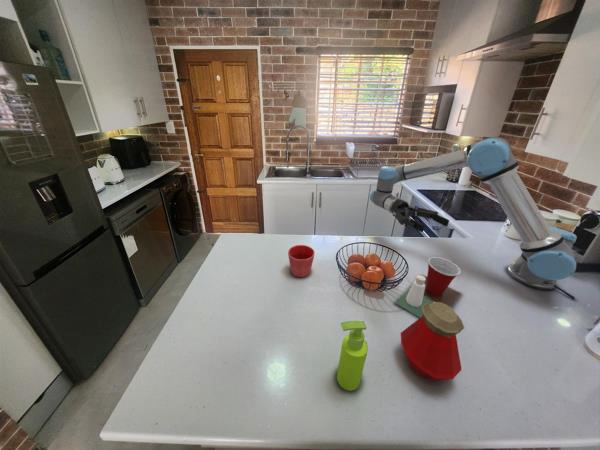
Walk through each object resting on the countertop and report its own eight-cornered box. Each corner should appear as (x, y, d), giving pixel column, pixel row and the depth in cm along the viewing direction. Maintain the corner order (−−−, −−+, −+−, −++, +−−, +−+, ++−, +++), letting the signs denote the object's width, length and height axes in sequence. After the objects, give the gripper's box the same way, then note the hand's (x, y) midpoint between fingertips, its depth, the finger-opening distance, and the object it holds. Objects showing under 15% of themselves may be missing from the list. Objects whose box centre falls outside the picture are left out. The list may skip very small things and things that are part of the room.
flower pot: (283, 275, 100) (283, 255, 96) (294, 261, 109) (294, 242, 105) (307, 282, 96) (309, 262, 92) (316, 267, 106) (318, 248, 101)
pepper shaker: (420, 309, 85) (429, 284, 80) (404, 303, 88) (411, 278, 83) (422, 300, 89) (431, 276, 84) (407, 294, 92) (414, 270, 87)
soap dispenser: (330, 368, 66) (338, 314, 57) (356, 367, 67) (367, 313, 57) (335, 391, 61) (345, 336, 52) (362, 389, 61) (376, 334, 52)
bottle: (466, 385, 63) (497, 331, 54) (423, 401, 59) (448, 346, 50) (423, 335, 76) (442, 285, 67) (385, 345, 73) (400, 293, 64)
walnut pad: (459, 294, 94) (460, 293, 93) (449, 308, 87) (450, 307, 87) (422, 276, 103) (423, 275, 102) (411, 288, 96) (411, 287, 95)
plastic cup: (455, 302, 89) (466, 276, 83) (423, 297, 91) (432, 271, 85) (445, 283, 98) (455, 258, 93) (417, 279, 100) (425, 254, 95)
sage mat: (448, 310, 86) (448, 309, 86) (436, 328, 79) (437, 327, 79) (409, 290, 95) (409, 289, 94) (395, 304, 88) (395, 303, 88)
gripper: (414, 210, 120) (454, 229, 103) (373, 217, 111) (409, 240, 94) (418, 195, 117) (460, 212, 100) (376, 202, 107) (414, 222, 90)
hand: (435, 226), depth 97 cm, fingers open, 13 cm apart
